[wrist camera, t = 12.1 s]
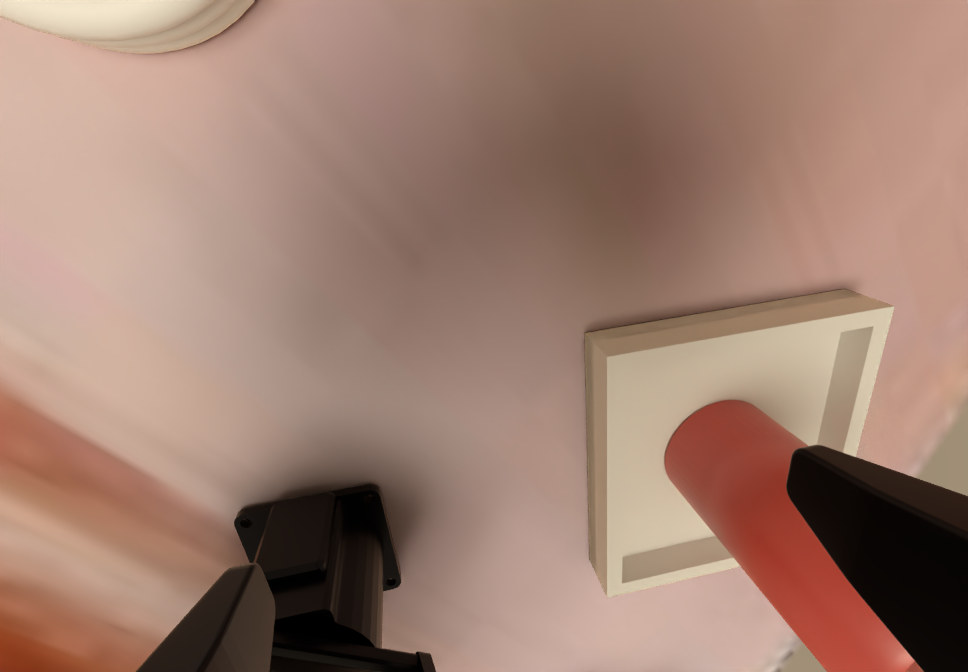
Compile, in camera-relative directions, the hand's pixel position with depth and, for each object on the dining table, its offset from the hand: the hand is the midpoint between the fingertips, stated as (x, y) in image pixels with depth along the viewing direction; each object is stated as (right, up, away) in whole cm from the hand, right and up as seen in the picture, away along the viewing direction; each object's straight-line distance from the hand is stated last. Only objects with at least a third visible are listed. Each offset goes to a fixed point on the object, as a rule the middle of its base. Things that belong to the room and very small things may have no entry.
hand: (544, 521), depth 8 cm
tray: (+11, -2, +17) cm, 20 cm away
